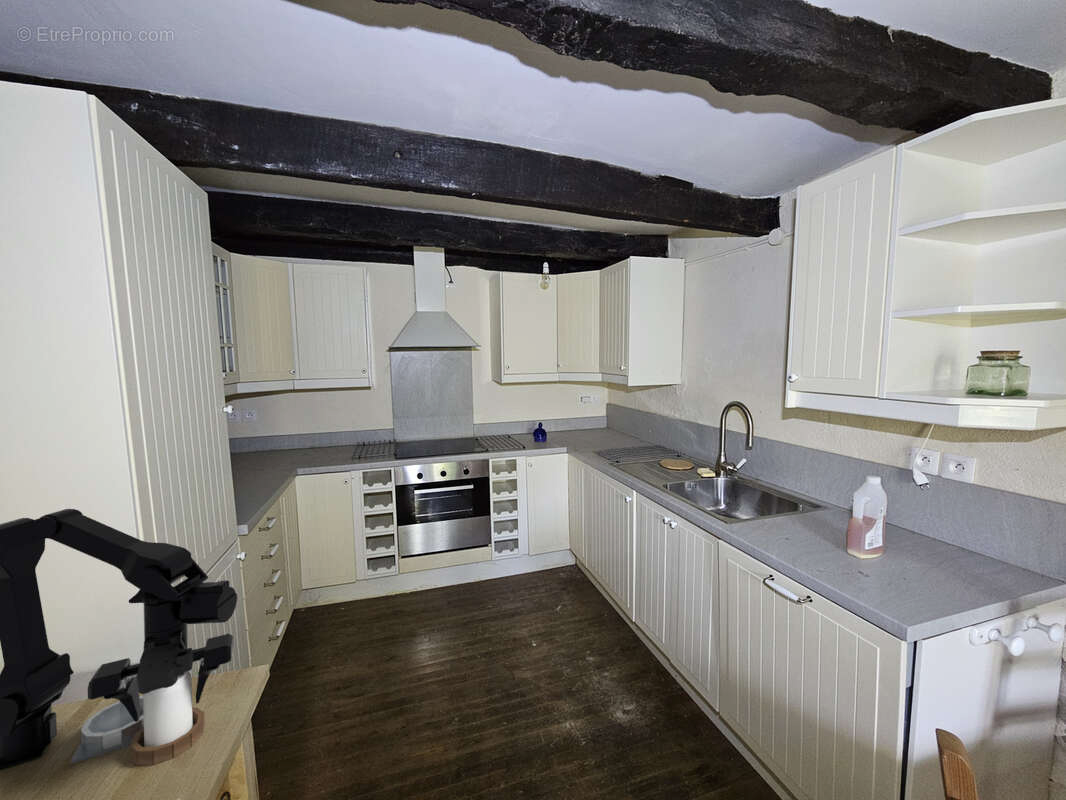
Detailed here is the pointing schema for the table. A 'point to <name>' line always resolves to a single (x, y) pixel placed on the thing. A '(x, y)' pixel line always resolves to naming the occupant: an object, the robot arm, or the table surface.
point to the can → (168, 712)
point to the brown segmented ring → (169, 749)
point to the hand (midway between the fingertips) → (168, 710)
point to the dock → (108, 731)
